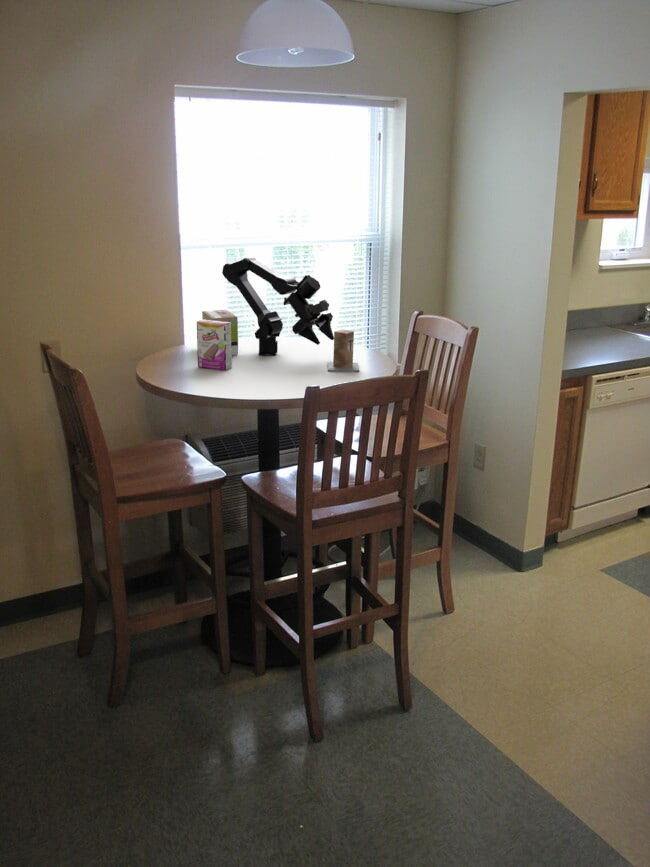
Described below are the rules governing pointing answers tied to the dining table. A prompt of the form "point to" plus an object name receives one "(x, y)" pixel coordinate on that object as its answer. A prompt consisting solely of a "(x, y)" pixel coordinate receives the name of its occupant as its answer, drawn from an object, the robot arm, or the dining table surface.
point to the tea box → (225, 317)
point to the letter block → (343, 348)
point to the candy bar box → (214, 344)
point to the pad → (337, 369)
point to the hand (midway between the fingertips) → (326, 341)
